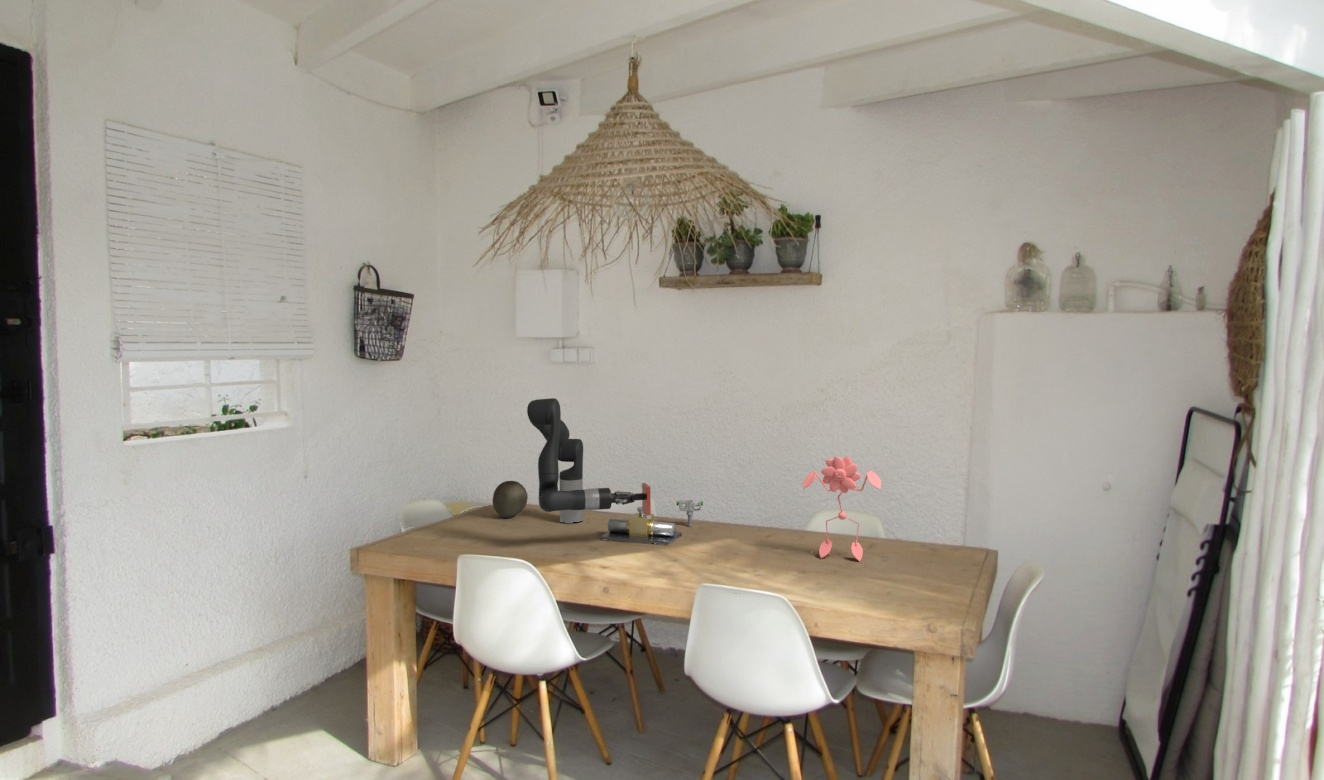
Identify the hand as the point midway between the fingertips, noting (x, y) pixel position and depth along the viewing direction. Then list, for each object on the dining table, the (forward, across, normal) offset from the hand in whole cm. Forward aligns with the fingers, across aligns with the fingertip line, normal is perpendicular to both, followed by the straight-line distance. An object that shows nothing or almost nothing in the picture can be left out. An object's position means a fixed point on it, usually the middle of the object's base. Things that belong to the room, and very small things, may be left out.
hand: (644, 496), depth 296 cm
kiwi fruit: (-44, +56, +17) cm, 73 cm away
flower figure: (+56, -40, +17) cm, 71 cm away
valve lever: (+1, +3, +7) cm, 8 cm away
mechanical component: (+23, +22, +17) cm, 36 cm away
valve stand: (+1, +9, +17) cm, 19 cm away
